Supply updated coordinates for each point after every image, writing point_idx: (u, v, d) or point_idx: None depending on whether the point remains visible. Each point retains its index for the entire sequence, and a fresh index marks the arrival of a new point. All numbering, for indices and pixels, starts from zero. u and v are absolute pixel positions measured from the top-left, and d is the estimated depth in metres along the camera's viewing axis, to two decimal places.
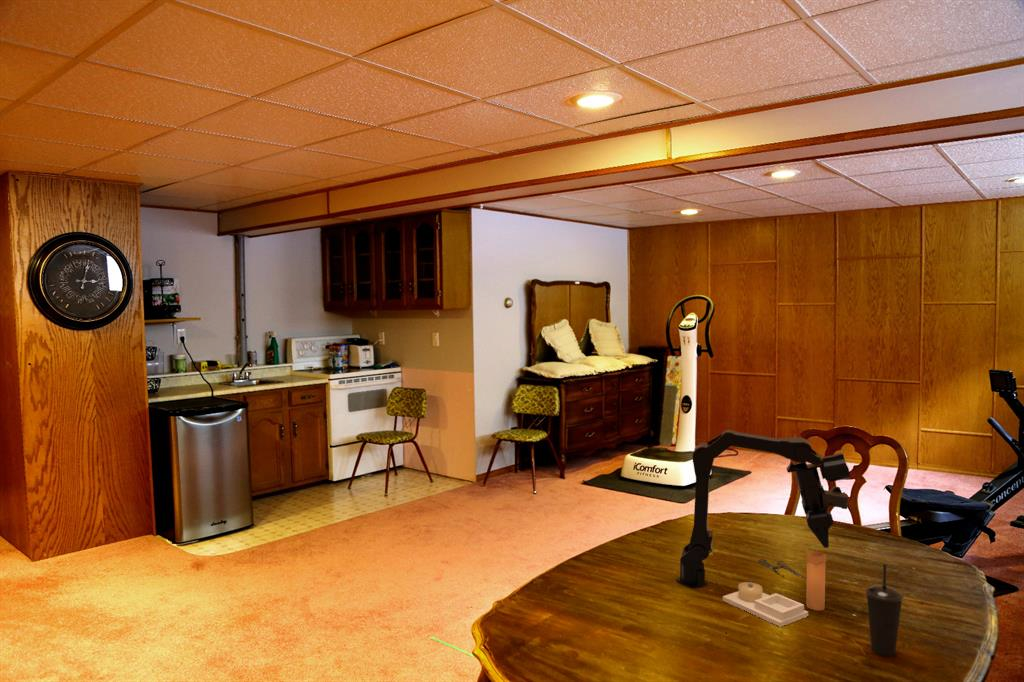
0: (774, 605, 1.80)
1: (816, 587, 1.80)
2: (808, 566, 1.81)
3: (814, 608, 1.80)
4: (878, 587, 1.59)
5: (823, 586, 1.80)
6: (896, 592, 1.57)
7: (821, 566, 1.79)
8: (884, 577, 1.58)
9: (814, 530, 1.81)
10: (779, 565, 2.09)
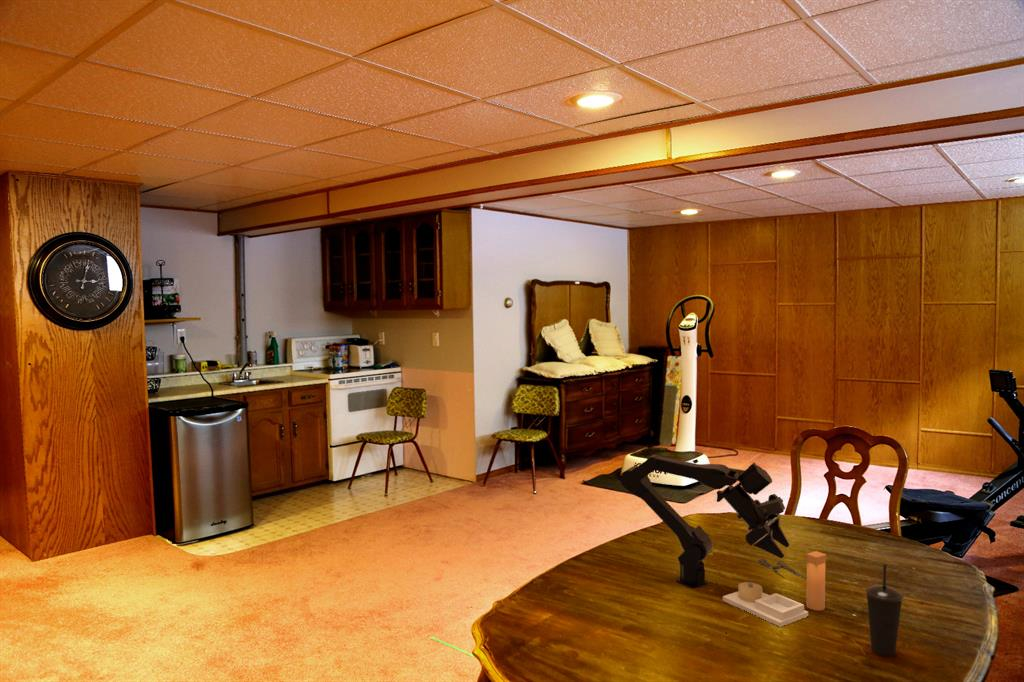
0: (774, 605, 1.80)
1: (816, 587, 1.80)
2: (808, 566, 1.81)
3: (814, 608, 1.80)
4: (878, 587, 1.59)
5: (823, 586, 1.80)
6: (896, 592, 1.57)
7: (821, 566, 1.79)
8: (884, 577, 1.58)
9: (761, 546, 1.82)
10: (779, 565, 2.09)
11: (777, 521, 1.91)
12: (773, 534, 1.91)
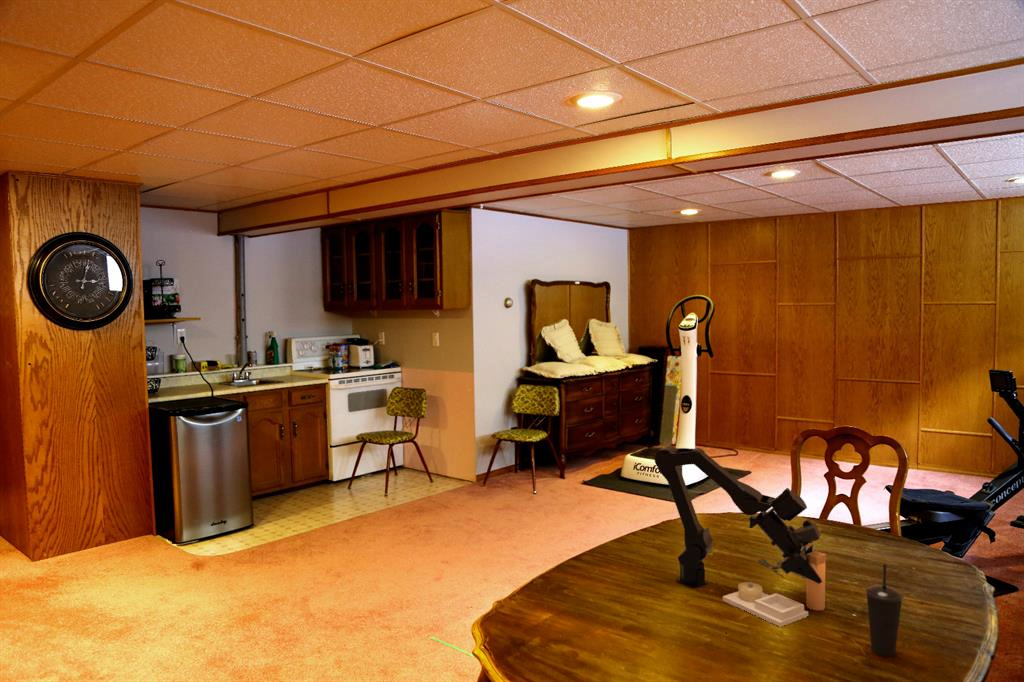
0: (774, 605, 1.80)
1: (816, 587, 1.80)
2: None
3: (814, 608, 1.80)
4: (878, 587, 1.59)
5: (823, 586, 1.80)
6: (896, 592, 1.57)
7: (821, 566, 1.79)
8: (884, 577, 1.58)
9: (798, 571, 1.80)
10: (779, 565, 2.09)
11: (811, 550, 1.85)
12: None
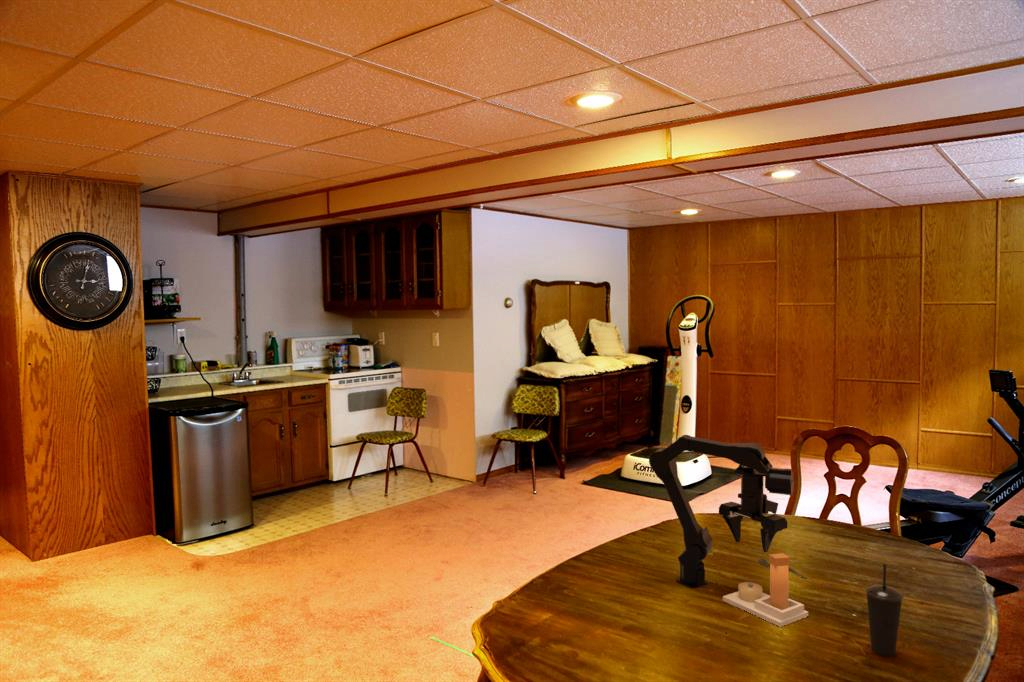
0: None
1: (775, 589, 1.76)
2: (770, 567, 1.78)
3: None
4: (878, 587, 1.59)
5: (784, 589, 1.75)
6: (896, 592, 1.57)
7: (781, 568, 1.75)
8: (884, 577, 1.58)
9: (766, 535, 1.83)
10: None
11: (742, 517, 1.95)
12: (735, 526, 1.93)
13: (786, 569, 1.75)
